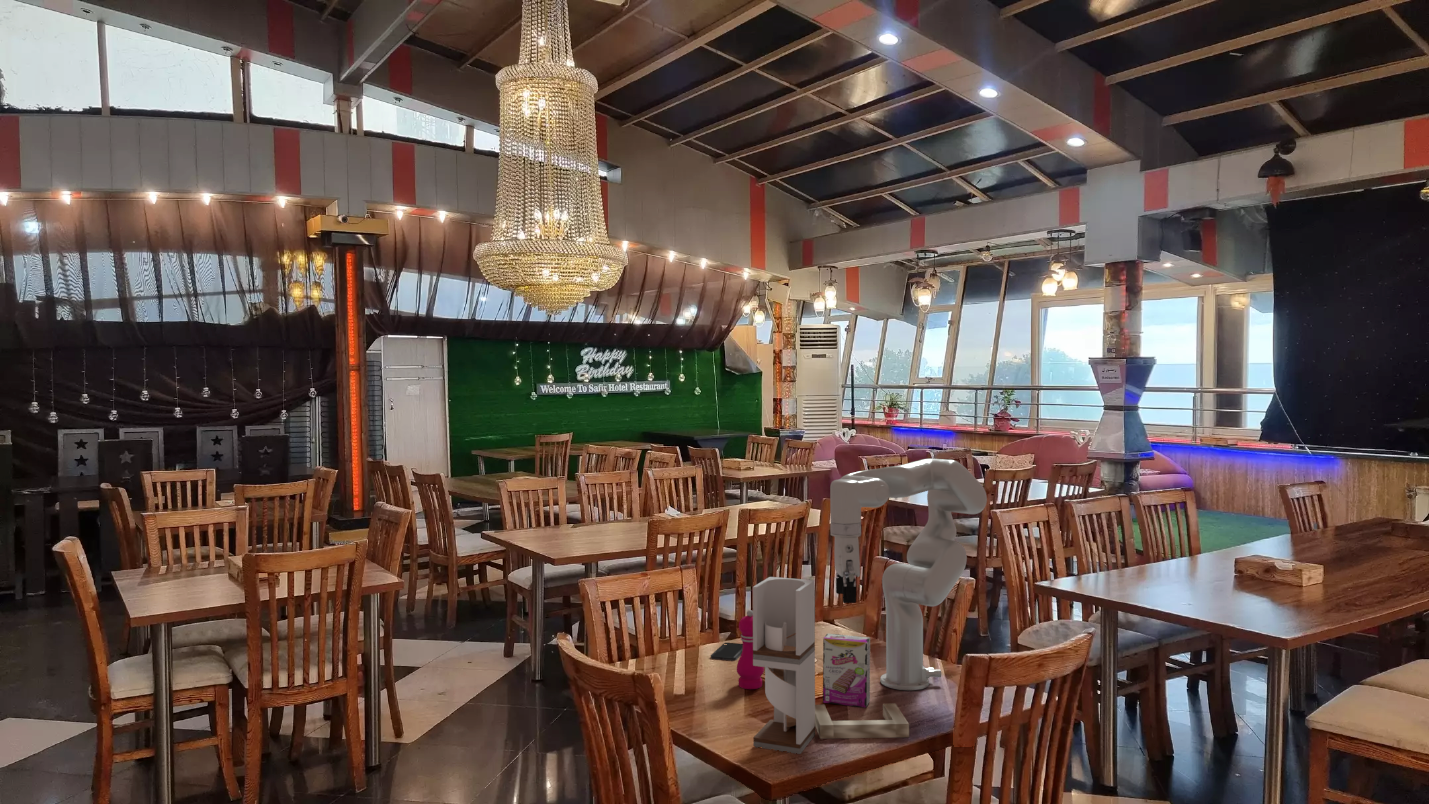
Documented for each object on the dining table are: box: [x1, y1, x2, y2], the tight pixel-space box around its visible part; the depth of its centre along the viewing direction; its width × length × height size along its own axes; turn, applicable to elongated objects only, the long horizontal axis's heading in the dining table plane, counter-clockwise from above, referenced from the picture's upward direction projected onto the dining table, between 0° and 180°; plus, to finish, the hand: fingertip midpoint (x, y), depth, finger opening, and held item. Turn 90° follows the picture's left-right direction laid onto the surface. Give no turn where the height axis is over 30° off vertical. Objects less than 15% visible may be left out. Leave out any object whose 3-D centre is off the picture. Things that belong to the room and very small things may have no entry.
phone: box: [710, 642, 743, 662], centre depth 264 cm, size 8×1×15 cm
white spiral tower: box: [752, 576, 816, 755], centre depth 197 cm, size 11×11×35 cm
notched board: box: [815, 703, 910, 740], centre depth 205 cm, size 20×13×3 cm, turn 92°
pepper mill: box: [736, 609, 765, 690], centre depth 234 cm, size 7×7×20 cm
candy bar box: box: [822, 633, 871, 708], centre depth 221 cm, size 11×5×16 cm, turn 71°
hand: (845, 597), depth 221 cm, fingers open, 9 cm apart
